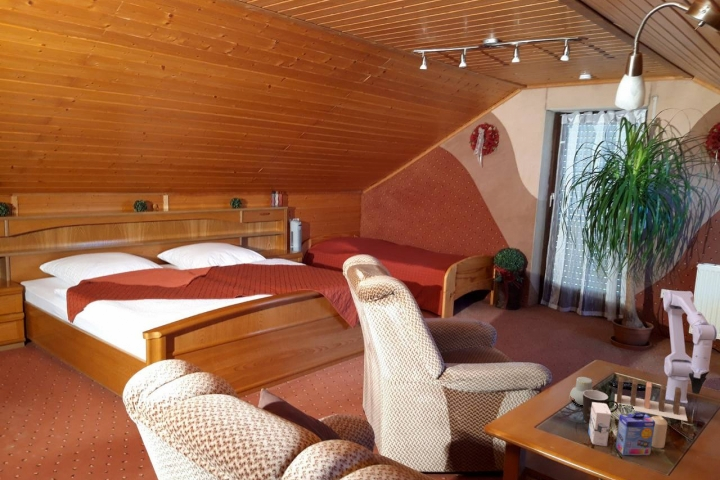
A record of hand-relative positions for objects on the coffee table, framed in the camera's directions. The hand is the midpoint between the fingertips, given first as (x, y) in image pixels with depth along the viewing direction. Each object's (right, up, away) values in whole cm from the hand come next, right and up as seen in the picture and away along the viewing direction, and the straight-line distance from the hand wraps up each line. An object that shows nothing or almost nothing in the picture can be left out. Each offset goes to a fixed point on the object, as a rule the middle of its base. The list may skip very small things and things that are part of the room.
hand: (696, 390), depth 217 cm
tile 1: (-6, -9, +4) cm, 12 cm away
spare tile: (-15, -8, +8) cm, 19 cm away
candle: (-26, -13, -20) cm, 36 cm away
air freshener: (-39, -8, +10) cm, 41 cm away
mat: (-14, -9, +8) cm, 18 cm away
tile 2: (-10, -9, +6) cm, 15 cm away
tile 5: (-24, -7, +12) cm, 28 cm away
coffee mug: (-40, -10, -5) cm, 42 cm away
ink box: (-45, -12, -18) cm, 50 cm away
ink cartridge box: (-36, -14, -25) cm, 46 cm away
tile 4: (-19, -8, +10) cm, 23 cm away
